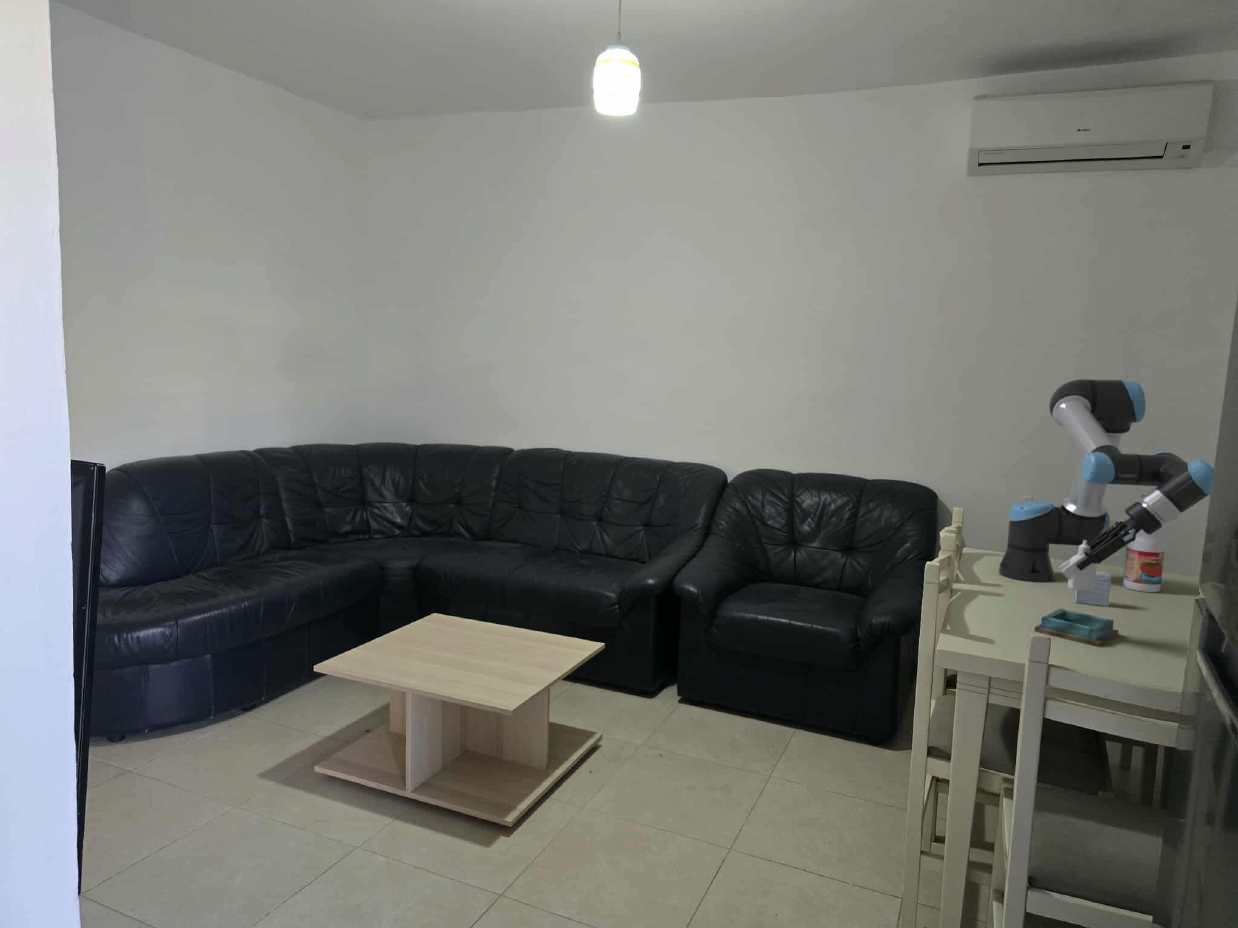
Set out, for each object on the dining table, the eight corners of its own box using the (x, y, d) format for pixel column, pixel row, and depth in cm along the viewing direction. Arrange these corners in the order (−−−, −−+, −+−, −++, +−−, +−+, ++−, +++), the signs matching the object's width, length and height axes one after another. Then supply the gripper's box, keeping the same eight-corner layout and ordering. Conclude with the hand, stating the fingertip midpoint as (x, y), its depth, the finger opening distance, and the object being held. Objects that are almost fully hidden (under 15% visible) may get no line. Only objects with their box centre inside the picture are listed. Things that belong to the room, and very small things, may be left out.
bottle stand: (1034, 630, 194) (1035, 617, 194) (1056, 620, 204) (1057, 606, 203) (1098, 646, 184) (1099, 631, 184) (1118, 634, 193) (1119, 620, 193)
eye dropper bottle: (1067, 585, 196) (1071, 537, 194) (1093, 588, 193) (1098, 540, 192) (1067, 589, 192) (1072, 540, 190) (1094, 593, 189) (1099, 543, 188)
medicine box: (1106, 603, 221) (1109, 572, 220) (1108, 607, 217) (1111, 576, 216) (1073, 599, 224) (1076, 569, 223) (1075, 603, 220) (1078, 572, 219)
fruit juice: (1136, 583, 243) (1145, 492, 240) (1167, 591, 235) (1177, 497, 232) (1115, 585, 240) (1124, 493, 237) (1146, 594, 231) (1156, 498, 228)
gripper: (1172, 531, 177) (1080, 594, 185) (1155, 519, 192) (1071, 577, 201) (1146, 505, 178) (1056, 569, 187) (1131, 495, 194) (1049, 554, 202)
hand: (1064, 573), depth 194 cm, fingers closed on eye dropper bottle, 4 cm apart
